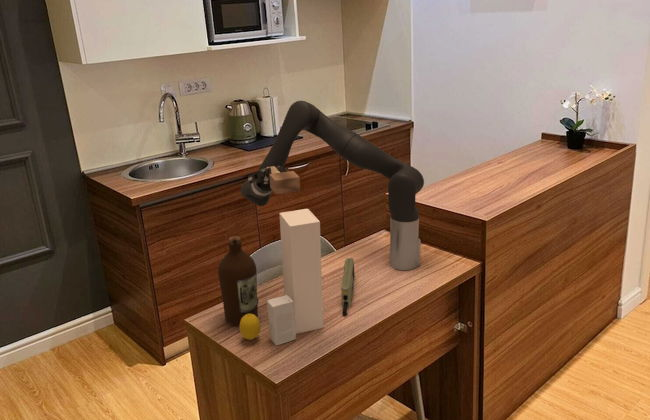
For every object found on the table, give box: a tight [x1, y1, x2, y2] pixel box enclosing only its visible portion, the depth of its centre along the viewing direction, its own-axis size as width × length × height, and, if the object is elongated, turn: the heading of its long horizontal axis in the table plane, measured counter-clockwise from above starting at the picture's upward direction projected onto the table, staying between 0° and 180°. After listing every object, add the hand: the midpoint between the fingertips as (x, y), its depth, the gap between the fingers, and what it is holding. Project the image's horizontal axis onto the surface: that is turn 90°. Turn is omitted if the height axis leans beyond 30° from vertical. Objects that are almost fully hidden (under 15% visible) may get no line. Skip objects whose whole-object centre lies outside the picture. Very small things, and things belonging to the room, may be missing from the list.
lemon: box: [239, 314, 261, 341], centre depth 155 cm, size 6×6×8 cm
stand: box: [279, 208, 324, 335], centre depth 158 cm, size 8×10×32 cm
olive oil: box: [217, 235, 259, 327], centre depth 162 cm, size 11×11×25 cm
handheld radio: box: [341, 257, 355, 316], centre depth 176 cm, size 7×3×25 cm
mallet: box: [267, 166, 301, 195], centre depth 166 cm, size 7×18×4 cm, turn 20°
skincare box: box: [266, 295, 297, 346], centre depth 154 cm, size 6×4×12 cm
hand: (274, 169), depth 170 cm, fingers closed on mallet, 2 cm apart
